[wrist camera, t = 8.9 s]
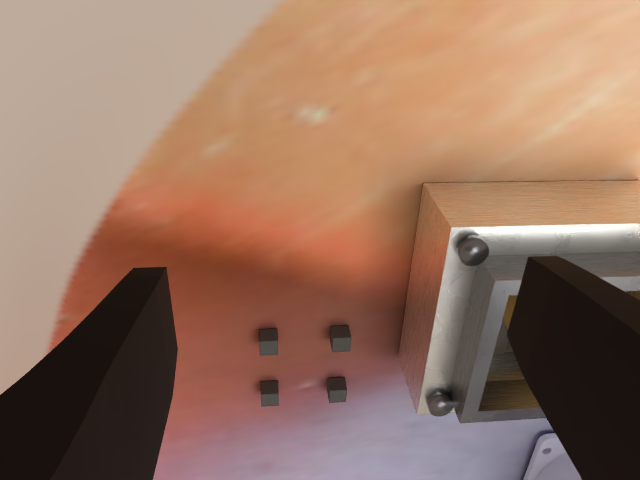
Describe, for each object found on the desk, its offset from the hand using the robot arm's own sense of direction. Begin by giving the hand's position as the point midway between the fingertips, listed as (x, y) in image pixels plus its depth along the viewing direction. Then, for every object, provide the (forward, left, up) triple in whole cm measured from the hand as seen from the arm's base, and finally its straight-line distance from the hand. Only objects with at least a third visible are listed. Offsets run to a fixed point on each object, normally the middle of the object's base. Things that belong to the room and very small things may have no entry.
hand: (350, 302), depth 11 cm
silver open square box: (-7, -9, -10) cm, 15 cm away
